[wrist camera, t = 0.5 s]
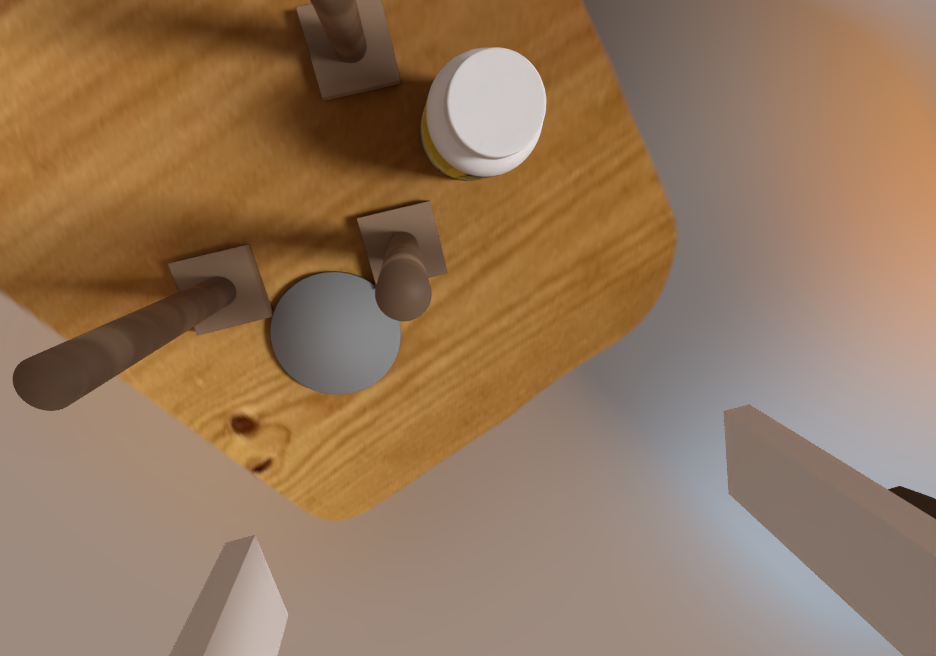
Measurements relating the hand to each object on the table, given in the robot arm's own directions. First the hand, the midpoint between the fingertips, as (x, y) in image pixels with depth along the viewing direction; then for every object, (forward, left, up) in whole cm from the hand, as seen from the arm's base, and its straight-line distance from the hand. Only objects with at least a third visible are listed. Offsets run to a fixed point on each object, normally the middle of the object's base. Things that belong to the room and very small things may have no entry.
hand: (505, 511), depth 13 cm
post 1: (-5, -14, -23) cm, 28 cm away
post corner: (-5, -1, -23) cm, 24 cm away
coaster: (0, -8, -23) cm, 25 cm away
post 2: (-18, -1, -23) cm, 29 cm away
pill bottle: (-12, +5, -24) cm, 27 cm away
